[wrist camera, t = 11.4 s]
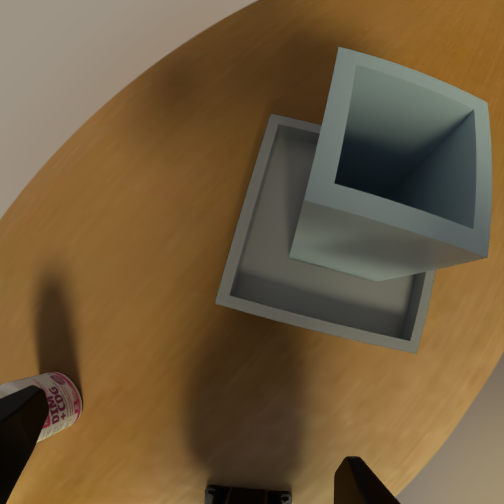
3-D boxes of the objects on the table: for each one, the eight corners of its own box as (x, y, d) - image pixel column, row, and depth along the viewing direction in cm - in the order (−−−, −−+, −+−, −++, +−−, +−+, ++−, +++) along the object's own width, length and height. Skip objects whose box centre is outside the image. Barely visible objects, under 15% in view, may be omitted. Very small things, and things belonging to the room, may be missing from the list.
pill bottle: (94, 408, 21) (28, 441, 13) (64, 431, 21) (2, 464, 13) (60, 359, 22) (-12, 375, 14) (34, 386, 22) (-33, 405, 13)
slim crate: (375, 281, 20) (487, 257, 8) (288, 258, 21) (303, 200, 9) (391, 197, 21) (487, 102, 9) (310, 173, 22) (338, 46, 9)
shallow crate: (402, 348, 20) (416, 353, 18) (221, 303, 22) (214, 303, 19) (433, 177, 22) (447, 165, 19) (271, 131, 23) (270, 113, 21)
